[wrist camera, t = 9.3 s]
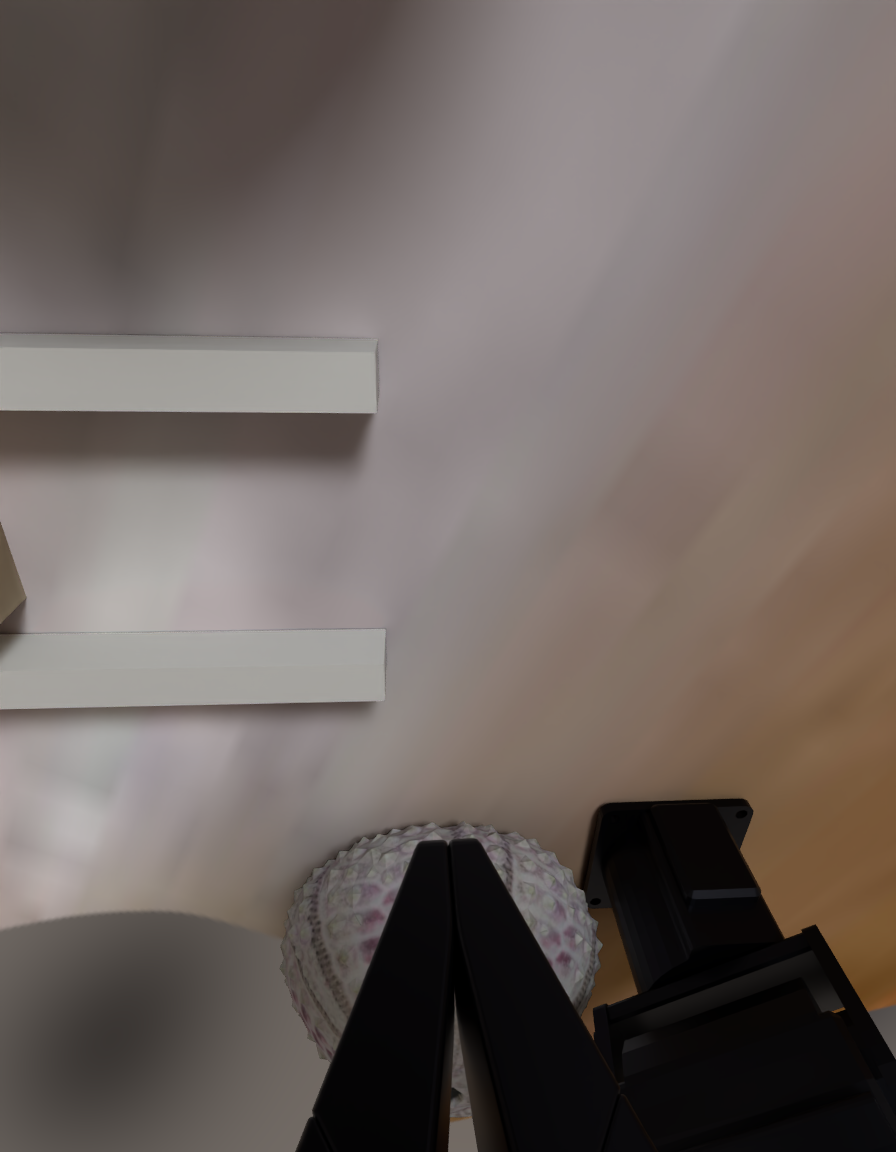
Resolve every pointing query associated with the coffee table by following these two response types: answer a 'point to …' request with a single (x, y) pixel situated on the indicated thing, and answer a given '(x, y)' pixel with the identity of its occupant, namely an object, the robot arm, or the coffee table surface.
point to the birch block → (8, 581)
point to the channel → (189, 384)
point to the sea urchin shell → (362, 905)
